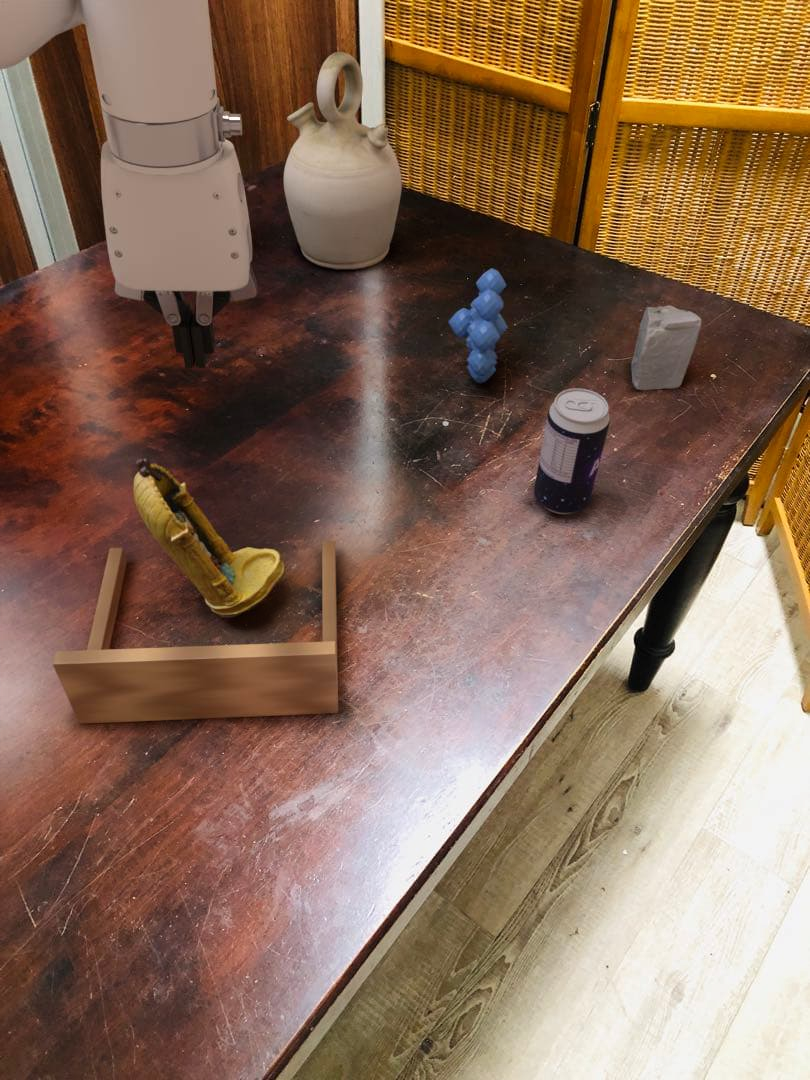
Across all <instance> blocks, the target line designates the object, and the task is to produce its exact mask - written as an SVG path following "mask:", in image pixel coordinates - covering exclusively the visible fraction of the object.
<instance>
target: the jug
mask: <svg viewBox="0 0 810 1080" xmlns="http://www.w3.org/2000/svg"><path fill="white" fill-rule="evenodd" d="M341 71H342V72H343V76H344V94H343V98H342V101H341V103H340V105H339V106H338V107H337V105H336V100H335V99H336V98H335V90H336V84H337V80H338V77H339V74H340V72H341ZM363 79H364V78H363V74H362V70H361V67H360V64H359V63H358V61H357V60H356V58H354V56H352V55H351V54H349V53H348V52H343V51H335V52H333V53H331V54H330V55H329V56H328V57H327V58H326V59H325V60H324V62H323V63H322V65H321V67H320V70H319V73H318V77H317V82H316V100H317V105H318V108H319V111H320V113H321V114H322V116H323V118H325V120H327V121H326V122H322V121H319V120H318V119H317V116H316V112H315V104H314V103H313V102H308V103H307V104H305V105H304V106H302V107H300V108H299V109H297V110H296V111H295V112H293V113H291V114H290V115H288V116H287V118H286V120H287V122H289V123H290V124H292V125H293V126H294V127H295V128H297V129H298V131H299V136H298V138H297V140H296V141H295V142H294V144H293V145H292V147H291V148H290V151H289V153H288V155H287V159H286V162H285V165H284V171H283V189H284V195H285V201H286V203H287V209H288V213H289V216H290V221H291V223H292V226H293V229H294V232H295V236H296V239H297V243H298V244H299V247H300V250H301V253H302V255H303V256H304V258H305V259H306V260H308V261H309V262H311V263H313V264H314V265H317V266H319V267H322V268H326V269H331V270H339V271H340V270H347V271H348V270H359V269H360V270H361V269H365V268H368V267H372V266H374V265H377V264H379V263H380V262H381V261H383V260H384V259H385V258H386V256H387V255H388V253H389V251H390V244H391V242H392V239H393V236H394V232H395V227H396V222H397V218H398V212H399V208H400V202H401V196H402V187H403V183H402V174H401V168H400V165H399V162H398V159H397V156H396V153H395V152H394V149H393V147H392V146H391V145H390V143H389V138H388V134H389V128H388V126H387V125H386V124H385V123H380V124H378V125H376V126H375V127H369V126H367V125H366V124H365V125H364V124H363V123H359V122H358V120H357V117H356V114H357V113H358V110H359V109H360V106H361V103H362V98H363V91H364V80H363Z"/></svg>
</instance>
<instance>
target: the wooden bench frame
mask: <svg viewBox="0 0 810 1080" xmlns="http://www.w3.org/2000/svg"><path fill="white" fill-rule="evenodd" d="M321 547H322V548H321V555H322V556H321V574H322V575H321V580H322V581H321V594H322V595H321V616H322V617H321V621H322V622H321V628H322V629H321V630H322V631H321V634H322V635H321V638H322V639H321V641H304V642H301V641H300V642H276V643H275V642H274V643H250V644H249V643H246V644H224V645H223V644H222V645H221V644H219V645H194V646H193V645H192V646H170V647H169V646H166V647H165V646H164V647H139V648H137V647H135V648H114V649H113V648H111V643H112V638H113V634H114V629H115V624H116V620H117V619H116V618H117V614H118V608H119V605H120V604H119V603H120V599H121V593H122V589H123V584H124V579H125V573H126V569H127V564H128V561H127V556H126V554H125V550H124V547H110V548H109V549H108V555H107V559H106V563H105V566H104V567H105V568H104V572H103V577H102V580H101V585H100V589H99V594H98V599H97V603H96V608H95V612H94V616H93V621H92V624H91V630H90V634H89V637H88V638H89V639H88V644H87V648H86V649H83V650H82V649H81V650H80V649H79V650H57V651H55V654H54V657H53V662H52V666H53V668H54V670H55V673H56V675H57V677H58V679H59V682H60V684H61V686H62V688H63V691H64V693H65V695H66V697H67V700H68V702H69V705H70V707H71V708H72V711H73V713H74V715H75V718H76V720H77V722H78V724H79V725H84V724H104V723H105V724H106V723H108V724H109V723H128V722H129V723H131V722H133V723H134V722H148V721H149V722H154V721H177V720H178V721H179V720H181V721H182V720H201V719H203V720H204V719H205V720H206V719H225V718H226V719H227V718H228V719H229V718H246V717H247V718H250V717H274V716H299V715H320V714H321V715H324V714H338V713H339V674H338V673H339V671H338V668H339V667H338V665H339V664H338V610H337V607H338V605H337V601H338V600H337V553H336V552H337V551H336V550H337V549H336V541H322V542H321Z"/></svg>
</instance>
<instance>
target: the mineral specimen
mask: <svg viewBox="0 0 810 1080" xmlns="http://www.w3.org/2000/svg"><path fill="white" fill-rule="evenodd" d="M644 309H645V310H644V313H643V316H642V319H641V321H640V325H639V329H638V334H637V338H636V339H637V340H636V342H635V343H636V344H635V349H634V352H633V356H632V357H633V358H632V361H631V364H630V365H631V367H630V368H631V380H632V381H631V383H632V386H633V388H634V389H635V390H636V391H652V390H658V391H660V390H663V389H669V390H671V389H677V388H680V387H681V386H682V383H683V381H684V378H685V375H686V373H687V370H688V367H689V364H690V361H691V360H692V357H693V353H694V350H695V348H696V345H697V340H698V338H699V336H698V335H699V333H700V330H701V328H702V321H703V317H700V316H699V315H698V314H696V313H694V312H692V311H691V310H689V311H687V310H685V309H679V308H676V307H675V306H673V305H669V304H668V305H665V306H662V305H658V306H657V307H654V306H648V307H646V308H644Z"/></svg>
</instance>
